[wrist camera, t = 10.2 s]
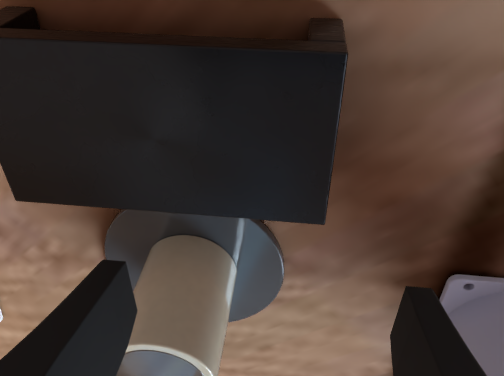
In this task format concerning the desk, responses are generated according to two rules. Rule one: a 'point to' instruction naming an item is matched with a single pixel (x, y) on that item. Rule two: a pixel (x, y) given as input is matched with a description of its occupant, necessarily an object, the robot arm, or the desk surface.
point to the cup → (181, 309)
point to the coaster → (213, 229)
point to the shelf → (171, 119)
